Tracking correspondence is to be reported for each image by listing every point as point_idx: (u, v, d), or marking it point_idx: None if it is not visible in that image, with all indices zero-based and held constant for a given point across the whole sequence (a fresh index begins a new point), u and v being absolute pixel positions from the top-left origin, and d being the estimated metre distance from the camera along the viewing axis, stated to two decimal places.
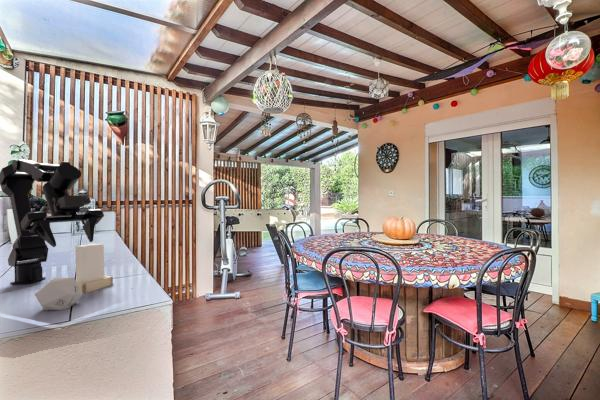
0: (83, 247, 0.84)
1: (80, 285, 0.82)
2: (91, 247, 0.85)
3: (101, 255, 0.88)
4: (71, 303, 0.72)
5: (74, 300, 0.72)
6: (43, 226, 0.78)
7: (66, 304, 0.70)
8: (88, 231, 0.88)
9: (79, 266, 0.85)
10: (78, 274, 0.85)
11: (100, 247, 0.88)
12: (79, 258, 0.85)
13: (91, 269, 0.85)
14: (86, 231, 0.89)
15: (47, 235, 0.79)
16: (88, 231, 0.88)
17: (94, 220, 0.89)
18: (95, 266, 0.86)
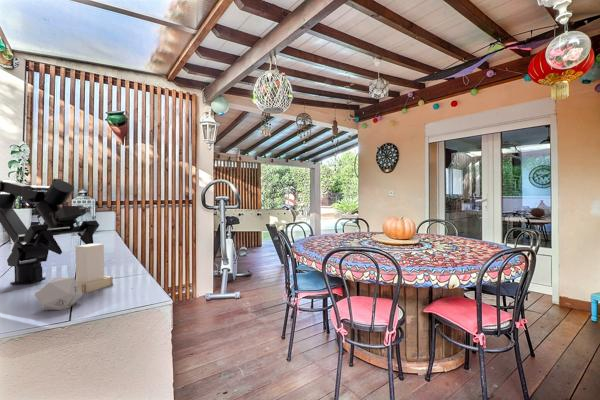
0: (83, 247, 0.84)
1: (80, 285, 0.82)
2: (91, 247, 0.85)
3: (101, 255, 0.88)
4: (71, 303, 0.72)
5: (74, 300, 0.72)
6: (47, 236, 0.84)
7: (66, 304, 0.70)
8: (87, 240, 0.94)
9: (79, 266, 0.85)
10: (78, 274, 0.85)
11: (100, 247, 0.88)
12: (79, 258, 0.85)
13: (91, 269, 0.85)
14: (85, 241, 0.95)
15: (52, 244, 0.84)
16: (87, 240, 0.94)
17: (91, 229, 0.96)
18: (95, 266, 0.86)
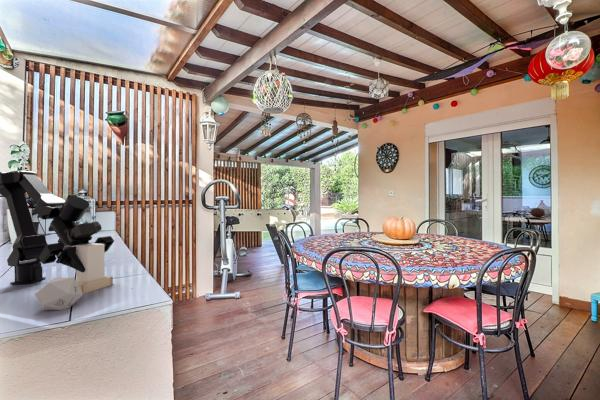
0: (84, 247, 0.84)
1: (80, 285, 0.82)
2: (92, 247, 0.85)
3: (102, 255, 0.88)
4: (71, 303, 0.72)
5: (74, 300, 0.72)
6: (70, 254, 0.83)
7: (66, 304, 0.70)
8: None
9: None
10: (78, 274, 0.85)
11: (101, 247, 0.88)
12: (80, 258, 0.85)
13: (91, 269, 0.85)
14: None
15: (75, 262, 0.84)
16: None
17: None
18: (95, 266, 0.86)
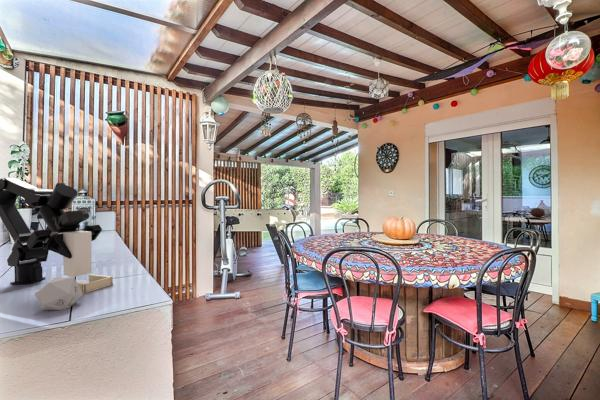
0: (71, 234, 0.86)
1: (80, 285, 0.82)
2: (79, 234, 0.87)
3: (89, 242, 0.90)
4: (71, 303, 0.72)
5: (74, 300, 0.72)
6: (58, 240, 0.85)
7: (66, 304, 0.70)
8: None
9: None
10: (65, 260, 0.87)
11: (88, 234, 0.90)
12: (67, 244, 0.87)
13: (78, 255, 0.87)
14: None
15: (62, 248, 0.86)
16: None
17: None
18: (82, 253, 0.88)
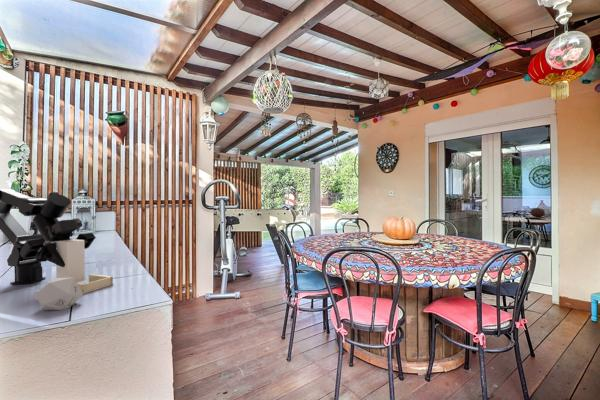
0: (64, 243, 0.88)
1: (80, 285, 0.82)
2: (71, 243, 0.88)
3: (82, 251, 0.91)
4: (71, 303, 0.72)
5: (74, 300, 0.72)
6: (51, 249, 0.86)
7: (66, 304, 0.70)
8: None
9: None
10: (58, 269, 0.88)
11: (81, 243, 0.91)
12: (60, 253, 0.88)
13: (71, 264, 0.88)
14: None
15: (55, 257, 0.87)
16: None
17: None
18: (75, 261, 0.89)
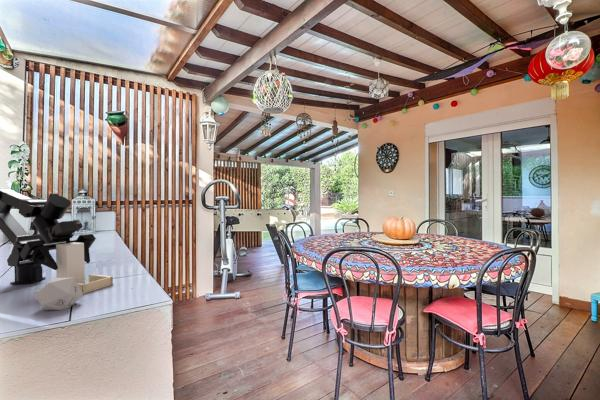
0: (63, 246, 0.88)
1: (80, 285, 0.82)
2: (71, 246, 0.88)
3: (81, 253, 0.91)
4: (71, 303, 0.72)
5: (74, 300, 0.72)
6: (43, 252, 0.85)
7: (66, 304, 0.70)
8: (84, 254, 0.95)
9: (59, 264, 0.88)
10: (58, 272, 0.88)
11: (80, 246, 0.91)
12: (60, 256, 0.88)
13: (71, 267, 0.88)
14: None
15: (48, 260, 0.85)
16: None
17: (88, 243, 0.96)
18: (75, 264, 0.89)
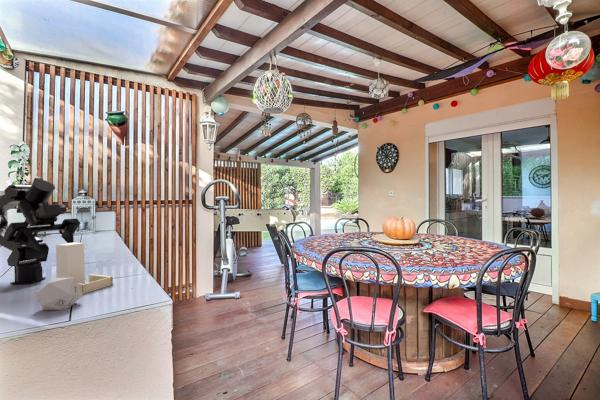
0: (63, 246, 0.88)
1: (80, 285, 0.82)
2: (71, 246, 0.88)
3: (81, 253, 0.91)
4: (71, 303, 0.72)
5: (74, 300, 0.72)
6: (27, 233, 0.87)
7: (66, 304, 0.70)
8: (68, 237, 0.97)
9: (59, 264, 0.88)
10: (58, 272, 0.88)
11: (80, 246, 0.91)
12: (60, 256, 0.88)
13: (71, 267, 0.88)
14: (65, 238, 0.98)
15: (31, 241, 0.88)
16: (68, 237, 0.98)
17: (72, 227, 0.99)
18: (75, 264, 0.89)
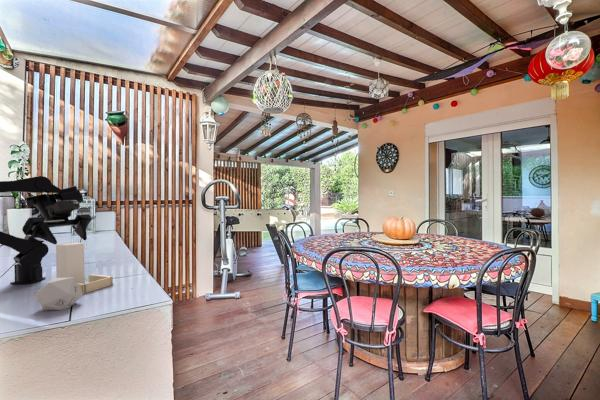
0: (63, 246, 0.88)
1: (80, 285, 0.82)
2: (71, 246, 0.88)
3: (81, 253, 0.91)
4: (71, 303, 0.72)
5: (74, 300, 0.72)
6: (43, 228, 0.92)
7: (66, 304, 0.70)
8: (81, 232, 1.03)
9: (59, 264, 0.88)
10: (58, 272, 0.88)
11: (80, 246, 0.91)
12: (60, 256, 0.88)
13: (71, 267, 0.88)
14: (79, 233, 1.03)
15: (48, 235, 0.93)
16: (81, 232, 1.03)
17: (84, 222, 1.04)
18: (75, 264, 0.89)
